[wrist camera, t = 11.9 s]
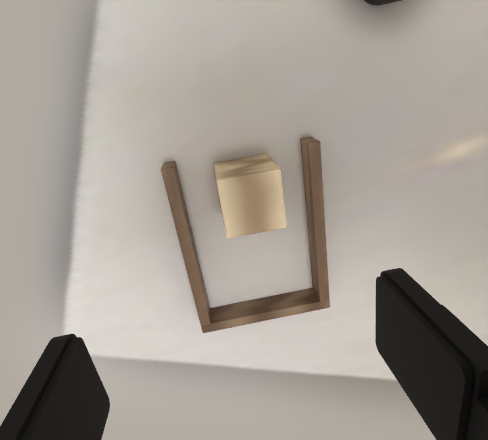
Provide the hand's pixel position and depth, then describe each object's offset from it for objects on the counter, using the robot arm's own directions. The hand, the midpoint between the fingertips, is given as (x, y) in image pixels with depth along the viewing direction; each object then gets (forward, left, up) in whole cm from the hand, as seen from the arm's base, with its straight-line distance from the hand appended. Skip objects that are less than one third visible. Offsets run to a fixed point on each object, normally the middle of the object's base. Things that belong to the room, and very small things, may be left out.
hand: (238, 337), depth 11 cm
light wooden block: (-3, +4, -28) cm, 29 cm away
